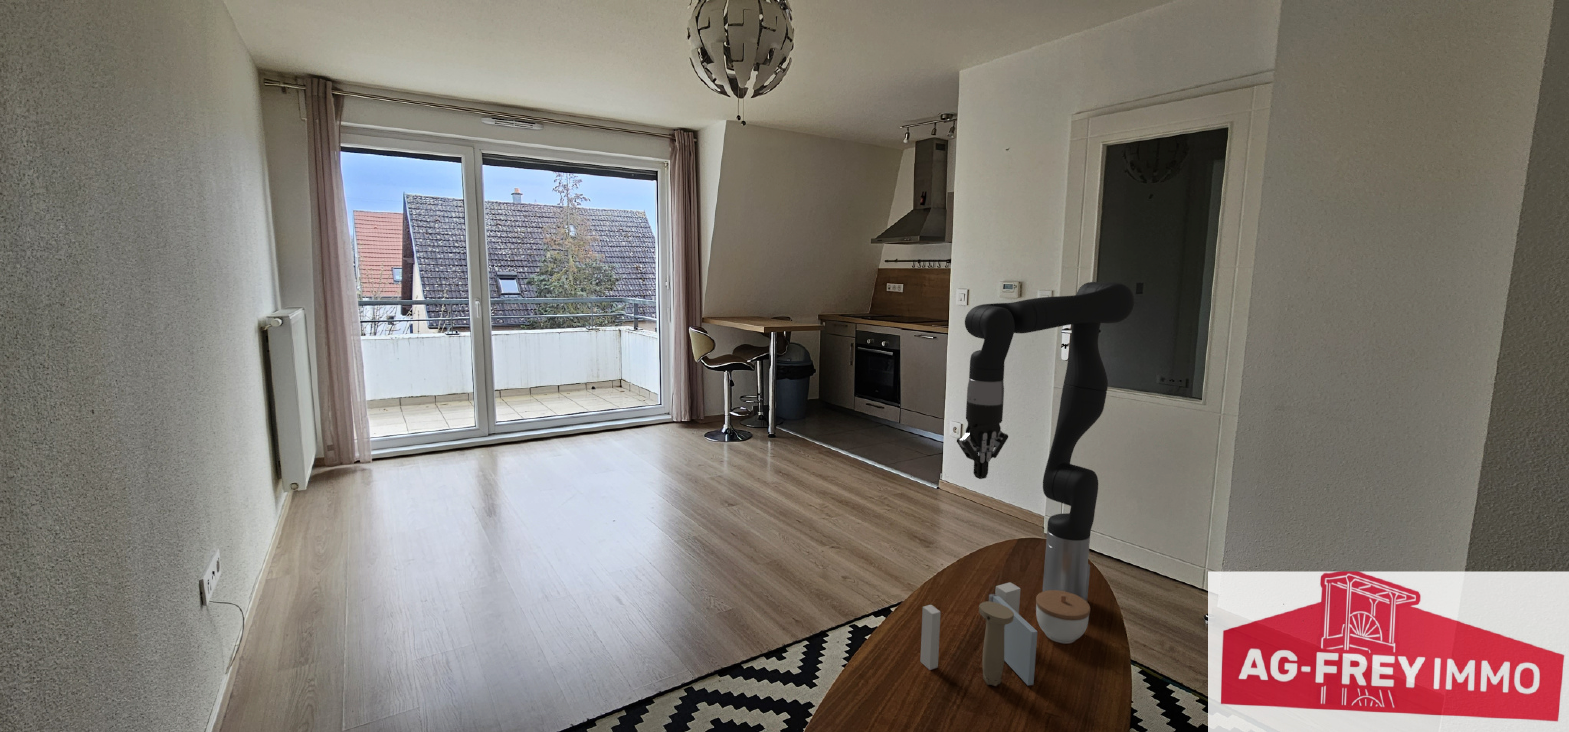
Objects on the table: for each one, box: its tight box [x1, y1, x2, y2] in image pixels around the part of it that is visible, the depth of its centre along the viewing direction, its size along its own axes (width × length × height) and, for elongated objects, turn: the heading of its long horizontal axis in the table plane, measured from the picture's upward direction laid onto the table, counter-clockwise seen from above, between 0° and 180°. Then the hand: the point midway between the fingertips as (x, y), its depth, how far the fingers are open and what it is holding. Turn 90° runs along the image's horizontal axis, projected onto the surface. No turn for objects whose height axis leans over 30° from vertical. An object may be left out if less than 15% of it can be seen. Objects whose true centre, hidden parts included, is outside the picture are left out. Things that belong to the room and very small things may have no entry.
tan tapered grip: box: [978, 600, 1014, 687], centre depth 129 cm, size 5×6×15 cm
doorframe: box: [919, 581, 1021, 671], centre depth 139 cm, size 23×3×12 cm, turn 116°
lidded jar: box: [1035, 590, 1091, 645], centre depth 145 cm, size 11×11×9 cm
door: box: [988, 593, 1038, 686], centre depth 135 cm, size 15×2×11 cm, turn 14°
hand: (980, 477), depth 147 cm, fingers closed
